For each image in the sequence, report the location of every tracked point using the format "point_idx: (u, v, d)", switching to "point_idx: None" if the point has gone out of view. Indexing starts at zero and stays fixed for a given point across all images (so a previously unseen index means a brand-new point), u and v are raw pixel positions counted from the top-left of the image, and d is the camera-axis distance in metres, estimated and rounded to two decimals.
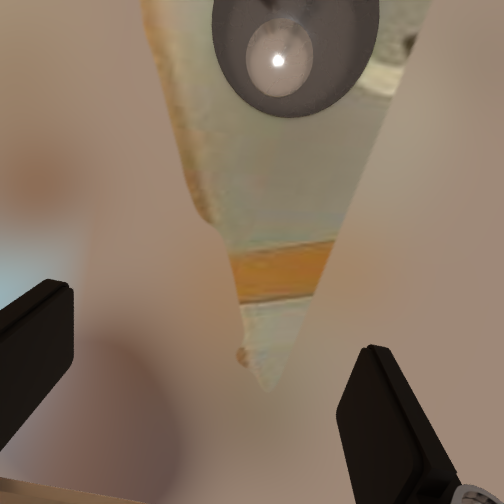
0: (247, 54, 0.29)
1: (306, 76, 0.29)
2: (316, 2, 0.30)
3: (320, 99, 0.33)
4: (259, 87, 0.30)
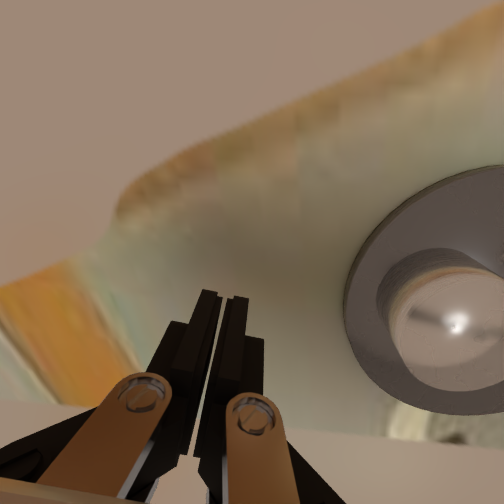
0: (479, 283, 0.14)
1: (437, 386, 0.16)
2: None
3: (379, 365, 0.20)
4: (415, 314, 0.14)
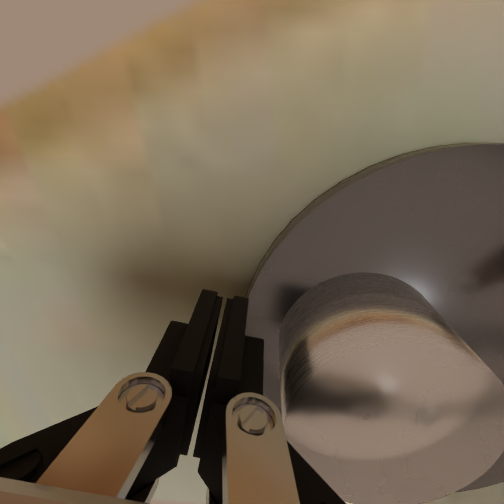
0: (402, 348, 0.08)
1: (350, 499, 0.10)
2: None
3: None
4: (299, 396, 0.08)
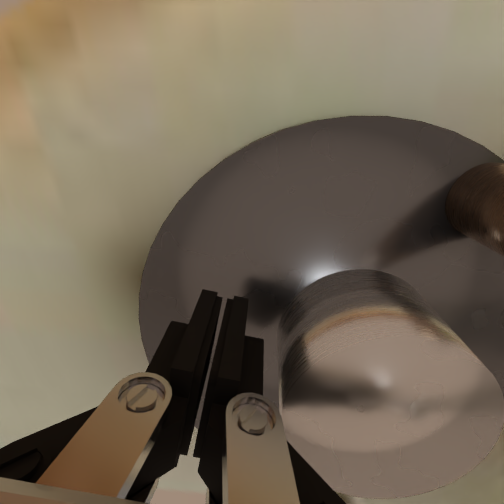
0: (396, 341, 0.08)
1: (345, 490, 0.10)
2: None
3: None
4: (296, 388, 0.09)
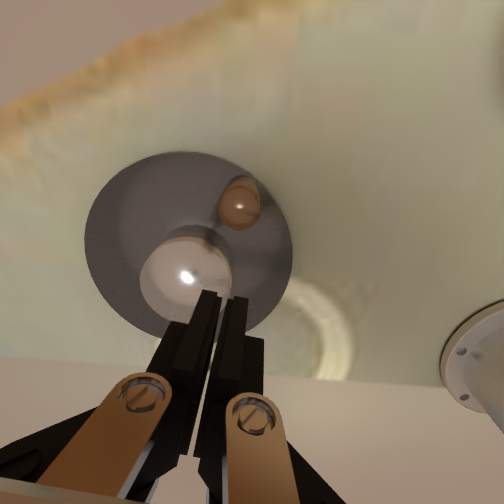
0: (178, 245, 0.20)
1: (174, 320, 0.22)
2: None
3: (124, 305, 0.26)
4: (144, 267, 0.21)
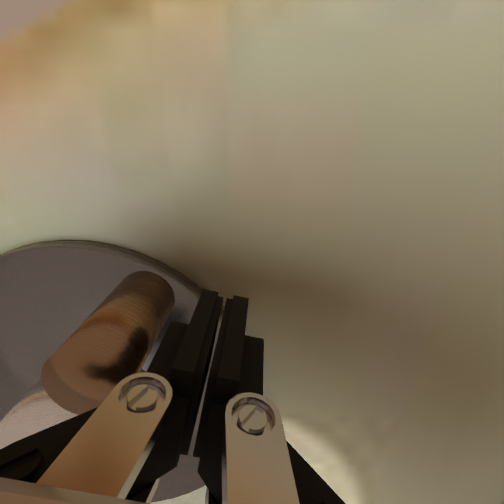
0: (18, 428, 0.11)
1: None
2: None
3: None
4: None
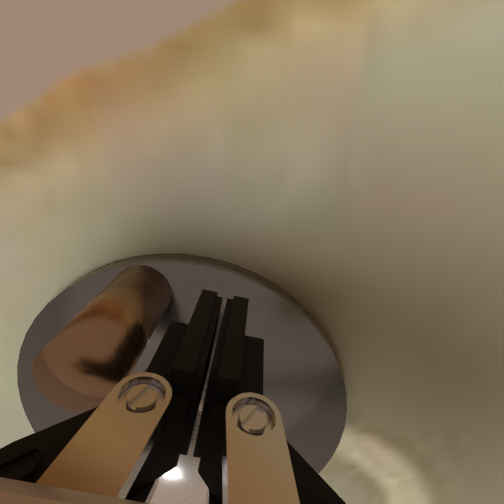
0: None
1: None
2: None
3: None
4: None
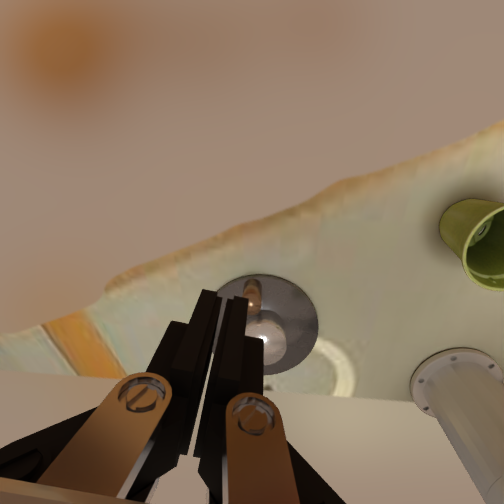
0: (245, 333, 0.40)
1: (272, 362, 0.42)
2: None
3: None
4: None
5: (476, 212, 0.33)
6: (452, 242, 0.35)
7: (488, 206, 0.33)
